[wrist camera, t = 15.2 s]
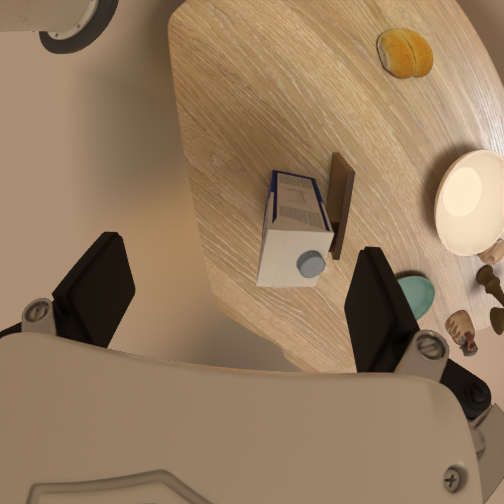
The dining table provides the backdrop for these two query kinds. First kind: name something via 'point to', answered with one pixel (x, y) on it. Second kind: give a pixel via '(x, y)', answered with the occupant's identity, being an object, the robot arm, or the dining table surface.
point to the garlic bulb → (493, 253)
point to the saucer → (418, 294)
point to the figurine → (462, 332)
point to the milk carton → (293, 233)
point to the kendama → (498, 316)
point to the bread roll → (405, 53)
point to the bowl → (471, 203)
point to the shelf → (339, 201)
